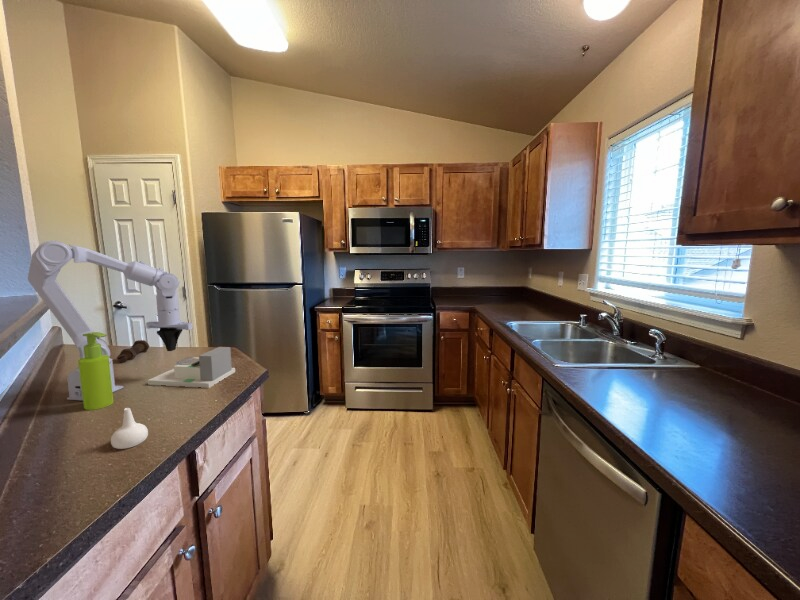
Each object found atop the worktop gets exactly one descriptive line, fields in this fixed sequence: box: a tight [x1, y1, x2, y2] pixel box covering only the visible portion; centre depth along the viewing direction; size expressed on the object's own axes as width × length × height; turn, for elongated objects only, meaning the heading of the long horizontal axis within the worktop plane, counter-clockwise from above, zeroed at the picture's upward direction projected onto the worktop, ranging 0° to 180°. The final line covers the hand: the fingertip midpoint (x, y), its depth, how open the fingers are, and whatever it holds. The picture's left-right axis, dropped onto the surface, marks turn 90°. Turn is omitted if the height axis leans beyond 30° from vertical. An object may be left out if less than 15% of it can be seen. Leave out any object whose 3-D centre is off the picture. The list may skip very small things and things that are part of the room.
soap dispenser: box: [77, 331, 114, 411], centre depth 86 cm, size 6×7×20 cm
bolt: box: [116, 339, 150, 363], centre depth 127 cm, size 6×5×15 cm
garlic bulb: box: [110, 407, 149, 450], centre depth 71 cm, size 6×6×8 cm
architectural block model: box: [147, 346, 236, 389], centre depth 107 cm, size 20×14×10 cm
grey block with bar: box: [176, 356, 200, 366], centre depth 107 cm, size 8×9×5 cm
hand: (171, 350), depth 107 cm, fingers closed
